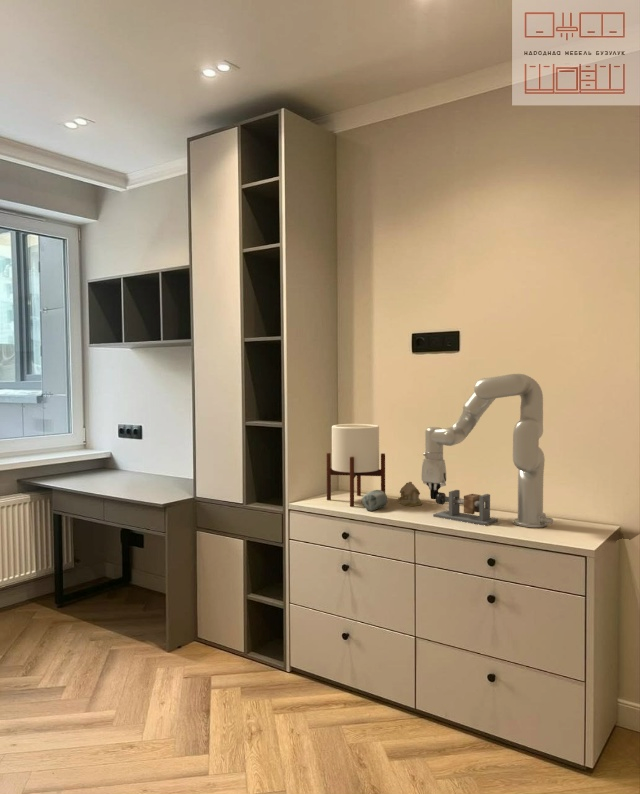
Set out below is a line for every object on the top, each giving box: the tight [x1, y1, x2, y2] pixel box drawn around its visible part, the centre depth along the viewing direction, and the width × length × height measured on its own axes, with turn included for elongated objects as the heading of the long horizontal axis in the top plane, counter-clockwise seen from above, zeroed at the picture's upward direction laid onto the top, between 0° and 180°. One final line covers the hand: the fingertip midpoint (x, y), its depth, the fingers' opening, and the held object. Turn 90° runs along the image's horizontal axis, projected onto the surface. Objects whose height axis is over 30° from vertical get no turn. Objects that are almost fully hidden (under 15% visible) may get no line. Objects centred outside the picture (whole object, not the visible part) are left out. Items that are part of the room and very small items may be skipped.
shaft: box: [435, 491, 479, 507], centre depth 257 cm, size 20×5×5 cm, turn 47°
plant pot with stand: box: [326, 423, 386, 508], centre depth 294 cm, size 22×22×36 cm
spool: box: [361, 489, 388, 512], centre depth 276 cm, size 14×10×10 cm
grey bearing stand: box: [432, 489, 498, 527], centre depth 255 cm, size 24×10×11 cm, turn 47°
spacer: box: [463, 493, 481, 515], centre depth 253 cm, size 4×7×7 cm, turn 137°
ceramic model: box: [397, 481, 423, 507], centre depth 289 cm, size 14×11×10 cm
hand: (434, 498), depth 266 cm, fingers closed
